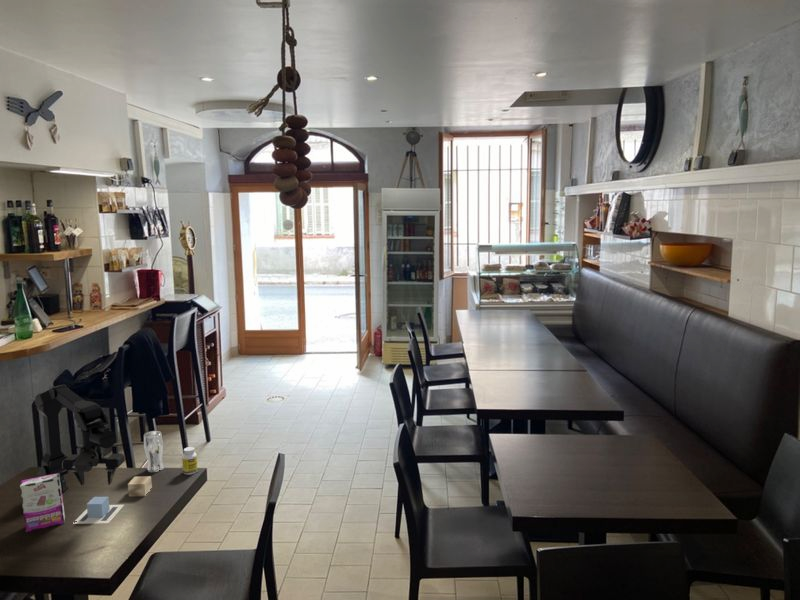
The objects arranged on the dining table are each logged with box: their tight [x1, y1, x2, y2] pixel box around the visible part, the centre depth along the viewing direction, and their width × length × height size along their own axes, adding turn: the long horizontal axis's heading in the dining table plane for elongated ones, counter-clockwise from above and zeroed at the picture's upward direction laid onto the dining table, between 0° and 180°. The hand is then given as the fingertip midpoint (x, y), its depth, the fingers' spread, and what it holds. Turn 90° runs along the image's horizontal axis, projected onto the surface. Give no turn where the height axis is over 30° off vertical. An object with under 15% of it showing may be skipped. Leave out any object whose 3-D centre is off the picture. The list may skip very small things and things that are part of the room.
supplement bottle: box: [182, 446, 198, 476], centre depth 232 cm, size 5×5×10 cm
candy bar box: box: [19, 473, 66, 533], centre depth 194 cm, size 11×5×16 cm, turn 117°
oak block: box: [127, 475, 153, 497], centre depth 216 cm, size 6×6×5 cm
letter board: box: [72, 504, 125, 525], centre depth 202 cm, size 12×12×1 cm
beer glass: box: [143, 430, 164, 473], centre depth 234 cm, size 7×7×15 cm
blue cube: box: [86, 496, 110, 518], centre depth 201 cm, size 5×5×5 cm
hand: (96, 484), depth 200 cm, fingers open, 9 cm apart
